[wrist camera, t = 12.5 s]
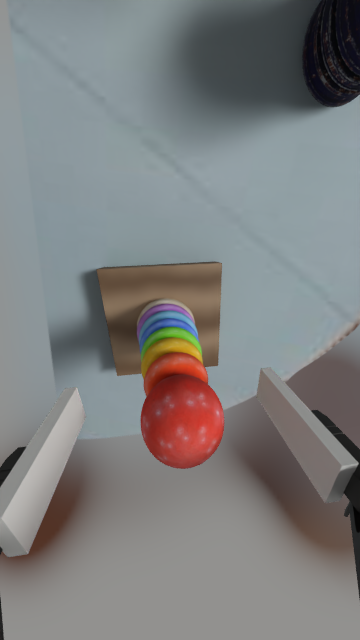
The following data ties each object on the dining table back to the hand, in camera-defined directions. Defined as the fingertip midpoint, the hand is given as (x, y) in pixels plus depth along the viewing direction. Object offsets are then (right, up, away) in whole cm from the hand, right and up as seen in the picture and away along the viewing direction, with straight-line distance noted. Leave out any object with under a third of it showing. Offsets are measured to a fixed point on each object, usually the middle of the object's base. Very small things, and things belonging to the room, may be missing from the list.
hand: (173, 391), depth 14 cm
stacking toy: (-2, +5, +13) cm, 14 cm away
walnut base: (-2, +6, +16) cm, 17 cm away
